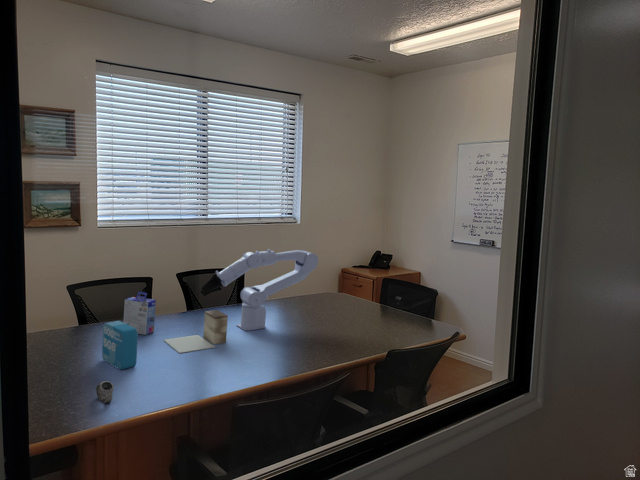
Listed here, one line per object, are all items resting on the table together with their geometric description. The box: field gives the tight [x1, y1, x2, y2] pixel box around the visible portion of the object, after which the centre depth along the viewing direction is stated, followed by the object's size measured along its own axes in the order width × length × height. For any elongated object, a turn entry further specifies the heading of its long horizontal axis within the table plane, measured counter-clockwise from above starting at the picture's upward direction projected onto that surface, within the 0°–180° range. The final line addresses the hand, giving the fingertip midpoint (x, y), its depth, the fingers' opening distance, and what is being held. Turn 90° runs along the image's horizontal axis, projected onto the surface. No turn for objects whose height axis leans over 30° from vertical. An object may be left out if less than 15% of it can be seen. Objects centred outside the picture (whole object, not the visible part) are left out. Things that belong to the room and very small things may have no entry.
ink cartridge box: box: [123, 291, 157, 336], centre depth 172 cm, size 10×6×14 cm, turn 78°
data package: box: [101, 320, 139, 371], centre depth 142 cm, size 12×4×12 cm, turn 53°
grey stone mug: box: [95, 380, 115, 404], centre depth 119 cm, size 4×6×5 cm, turn 48°
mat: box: [163, 334, 216, 354], centre depth 164 cm, size 13×14×1 cm
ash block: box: [202, 309, 229, 346], centre depth 170 cm, size 5×8×10 cm, turn 40°
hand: (202, 292), depth 177 cm, fingers open, 7 cm apart
